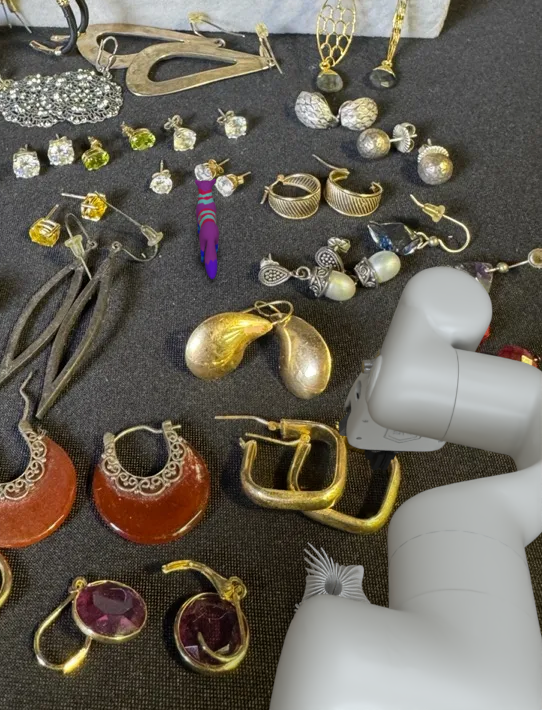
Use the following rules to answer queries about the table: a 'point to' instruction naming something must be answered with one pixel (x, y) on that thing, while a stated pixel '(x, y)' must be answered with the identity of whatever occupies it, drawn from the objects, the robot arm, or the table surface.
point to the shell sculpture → (333, 579)
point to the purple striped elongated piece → (207, 226)
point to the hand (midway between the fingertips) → (376, 457)
